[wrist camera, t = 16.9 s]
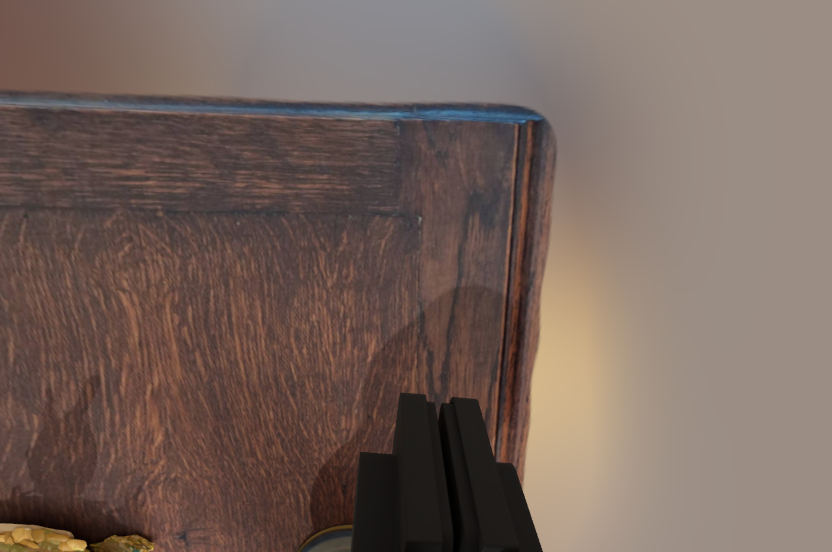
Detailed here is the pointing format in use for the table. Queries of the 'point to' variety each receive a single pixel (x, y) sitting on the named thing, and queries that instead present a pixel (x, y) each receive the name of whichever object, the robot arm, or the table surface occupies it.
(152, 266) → the table surface
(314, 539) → the apothecary jar
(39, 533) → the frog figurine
